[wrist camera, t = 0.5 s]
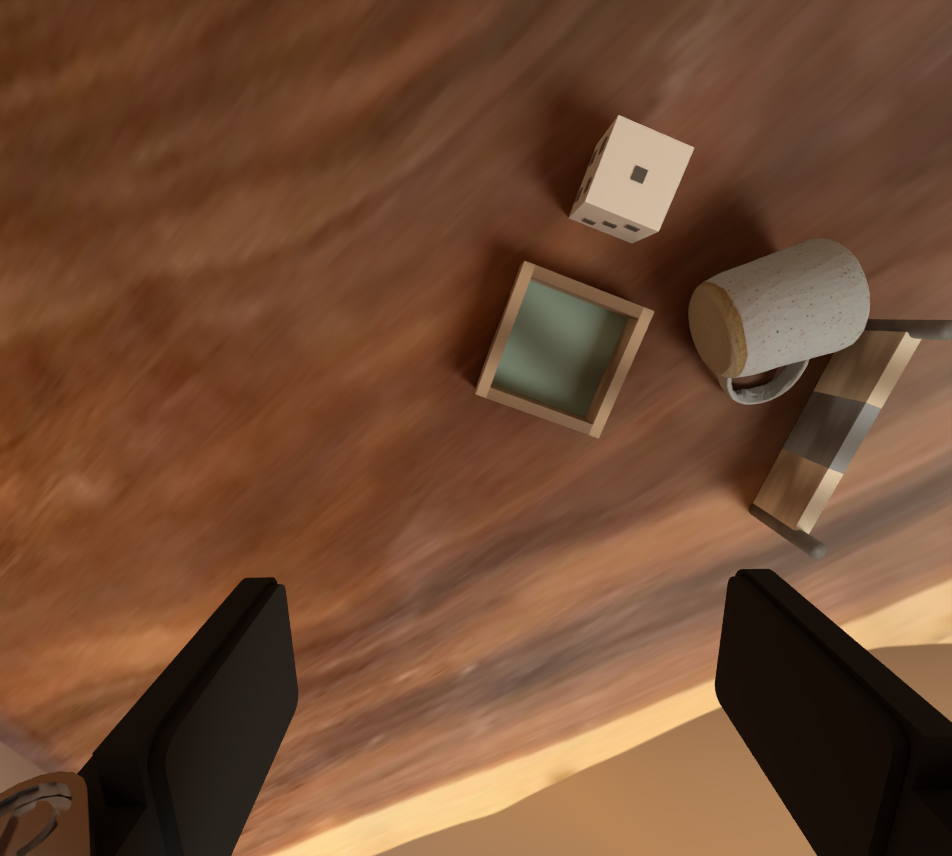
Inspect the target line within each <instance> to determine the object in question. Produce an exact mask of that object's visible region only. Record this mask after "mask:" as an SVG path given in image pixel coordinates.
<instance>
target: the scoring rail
mask: <svg viewBox="0 0 952 856" xmlns="http://www.w3.org/2000/svg"><path fill="white" fill-rule="evenodd" d="M921 339H933V340H949V339H952V320H880V319H868V320H867V323H866V326H865V328H864V331H863V332H862V334H861V335H860V337H859V338H858V339H857V340H856V341H855V342H854V344H852V345H850V346H848V347H846V348H844V349H842V350H840V351H837V352H834V353H833V355H832V357H831V359H830V361H829V362H828V364H827V366H826V368H825V370H824V372H823V374H822V375H821V377H820V379H819V381H818V383H817V385H816V387H815V388H814V390H813V392H812V394H811V396H810V398H809V400H808V401H807V403H806V405H805V407H804V409H803V411H802V413H801V414H800V416H799V418H798V420H797V422H796V424H795V426H794V427H793V429H792V431H791V433H790V435H789V437H788V439H787V440H786V442H785V444H784V446H783V448H782V450H781V452H780V453H779V455H778V457H777V459H776V461H775V463H774V465H773V466H772V468H771V470H770V472H769V474H768V476H767V478H766V479H765V481H764V483H763V485H762V487H761V489H760V491H759V492H758V494H757V496H756V498H755V500H754V502H753V503H754V504H753V505H752V506H751V507H750V513H751V515H753V516H754V517H756V518H757V519H758V520H760V521H761V522H763V523H764V524H765V525H767V526H768V527H770V528H771V529H773V530H774V531H775V532H777V533H778V534H780V535H781V536H782V537H784V538H785V539H787V540H788V541H789V542H791V543H792V544H794V545H795V546H797V547H798V548H799V549H801V550H802V551H804V552H805V553H806V554H808V555H809V556H811V557H812V558H814V559H819V558H822V557H823V556H824V555H825V554H826V552H827V547H826V545H825V544H823V543H821V542H820V541H818V540H817V539H815V538H814V537H812V536H811V535H809V533H810V531H811V529H812V528H813V526H814V524H815V522H816V521H817V519H818V517H819V515H820V514H821V512H822V510H823V509H824V507H825V505H826V503H827V502H828V500H829V498H830V496H831V495H832V493H833V491H834V490H835V488H836V486H837V484H838V483H839V481H840V479H841V477H842V476H843V474H844V472H845V470H846V469H847V467H848V465H849V464H850V462H851V460H852V458H853V457H854V455H855V453H856V451H857V450H858V448H859V446H860V445H861V443H862V441H863V439H864V438H865V436H866V434H867V432H868V431H869V429H870V427H871V426H872V424H873V422H874V420H875V419H876V417H877V415H878V413H879V412H880V410H881V408H882V406H883V405H884V403H885V401H886V400H887V398H888V396H889V394H890V393H891V391H892V389H893V387H894V386H895V384H896V382H897V381H898V379H899V377H900V375H901V374H902V372H903V370H904V368H905V367H906V365H907V363H908V362H909V360H910V358H911V356H912V355H913V353H914V351H915V349H916V348H917V346H918V344H919V343H920V341H921Z"/></svg>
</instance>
